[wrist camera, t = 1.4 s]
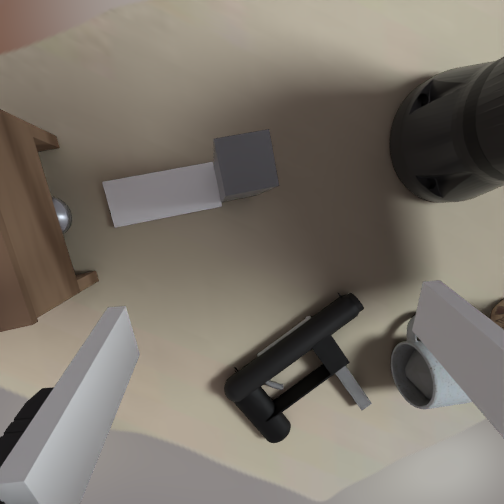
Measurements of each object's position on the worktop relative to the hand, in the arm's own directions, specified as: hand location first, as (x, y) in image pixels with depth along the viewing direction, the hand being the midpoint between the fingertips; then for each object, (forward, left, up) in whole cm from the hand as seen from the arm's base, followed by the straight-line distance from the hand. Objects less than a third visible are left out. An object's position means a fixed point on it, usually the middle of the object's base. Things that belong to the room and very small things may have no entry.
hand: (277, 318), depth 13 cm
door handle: (-6, +18, -23) cm, 30 cm away
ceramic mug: (-21, +18, -22) cm, 36 cm away
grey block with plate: (+5, -8, -22) cm, 24 cm away
